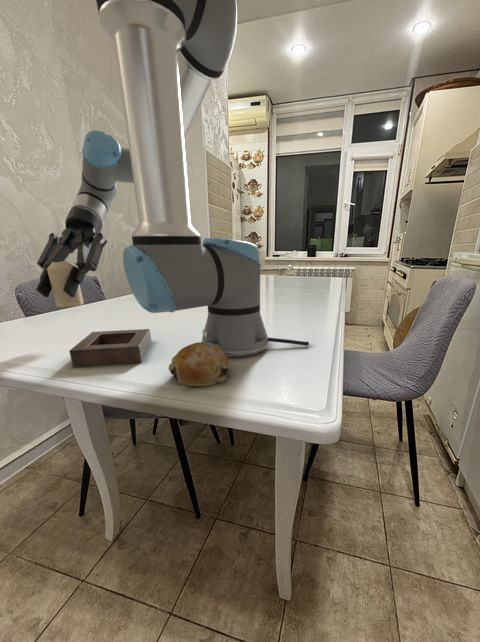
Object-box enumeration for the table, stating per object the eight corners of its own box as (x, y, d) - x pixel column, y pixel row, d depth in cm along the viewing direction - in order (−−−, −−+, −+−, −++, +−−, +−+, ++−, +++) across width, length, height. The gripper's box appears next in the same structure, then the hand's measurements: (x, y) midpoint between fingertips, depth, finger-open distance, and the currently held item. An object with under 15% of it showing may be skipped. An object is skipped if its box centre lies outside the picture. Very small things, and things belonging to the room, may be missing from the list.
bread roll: (208, 409, 49) (225, 372, 46) (154, 381, 49) (168, 341, 46) (226, 383, 58) (242, 350, 55) (181, 359, 58) (194, 325, 55)
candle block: (151, 342, 70) (149, 328, 69) (141, 362, 59) (138, 346, 57) (95, 346, 68) (92, 331, 67) (73, 367, 56) (68, 350, 55)
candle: (68, 302, 72) (58, 260, 68) (89, 303, 71) (79, 260, 68) (50, 307, 67) (38, 261, 63) (72, 307, 66) (61, 262, 63)
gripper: (128, 230, 77) (104, 303, 67) (62, 230, 78) (29, 302, 68) (113, 205, 70) (84, 283, 60) (41, 206, 71) (1, 282, 62)
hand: (55, 293), depth 64 cm, fingers closed on candle, 5 cm apart
